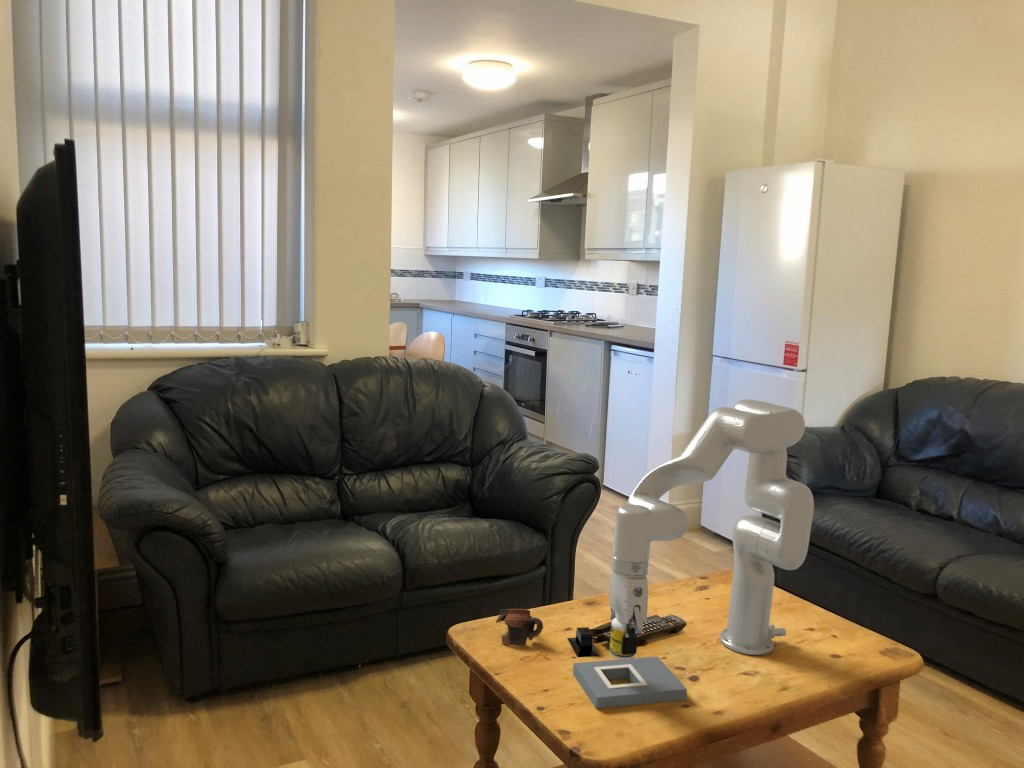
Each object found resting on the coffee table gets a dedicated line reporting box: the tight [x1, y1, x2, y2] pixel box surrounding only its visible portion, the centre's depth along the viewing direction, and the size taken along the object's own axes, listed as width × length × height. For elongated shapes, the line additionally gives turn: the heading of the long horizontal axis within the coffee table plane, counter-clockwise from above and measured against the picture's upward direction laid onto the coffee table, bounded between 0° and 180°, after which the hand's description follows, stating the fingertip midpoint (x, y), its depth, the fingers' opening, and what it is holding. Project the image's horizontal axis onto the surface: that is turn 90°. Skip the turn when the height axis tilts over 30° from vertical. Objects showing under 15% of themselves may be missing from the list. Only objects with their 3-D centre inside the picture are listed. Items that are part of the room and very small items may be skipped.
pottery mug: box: [495, 608, 544, 647], centre depth 189 cm, size 12×10×8 cm
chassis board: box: [572, 655, 688, 710], centre depth 170 cm, size 20×14×3 cm
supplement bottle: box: [609, 613, 636, 660], centre depth 168 cm, size 5×5×10 cm
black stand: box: [566, 626, 601, 658], centre depth 186 cm, size 12×7×5 cm, turn 11°
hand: (622, 645), depth 168 cm, fingers closed on supplement bottle, 5 cm apart
